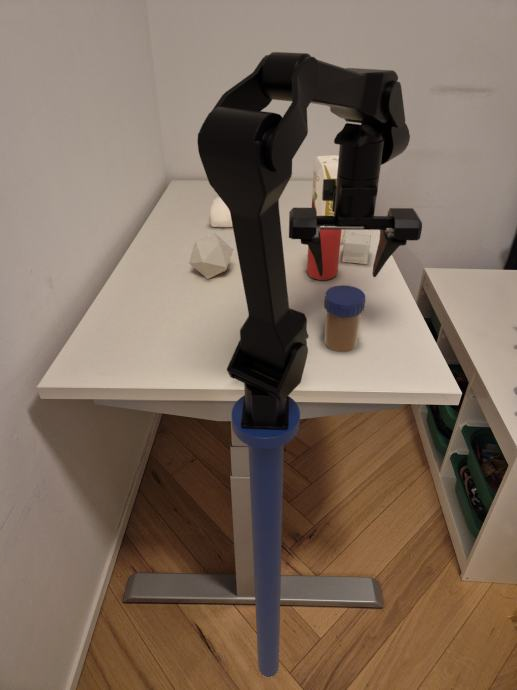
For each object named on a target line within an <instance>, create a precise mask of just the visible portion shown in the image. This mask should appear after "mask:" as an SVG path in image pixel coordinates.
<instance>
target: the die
mask: <svg viewBox="0 0 517 690" xmlns="http://www.w3.org/2000/svg"><path fill="white" fill-rule="evenodd" d="M233 251H234V248H233V247H231V246H230V245H229V244H228V243H227V242H226V241H225V240H223V239H222V238H221V237H220V236H219V235H218V234H217V233H215V232H214V233H211V234H209V235H207V236H206V235H205V236H203V237H201V238H197V239H196V240H195V241H194V244H193V247H192V251H191V254H190V258H189V261H188V264H190V266H192V267H193V268H194V269H195V270H196V271H197V272H199V273H200V274H201V275H202V276H203V277H205V278H206V279H207V280H209V279H211V278H213V277H217V276H218V275H220V274H223V273H224V272H225V273H226V272H227V268H228V266H229V263H230V261H231V257H232V255H233Z"/></svg>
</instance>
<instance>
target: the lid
mask: <svg viewBox="0 0 517 690" xmlns="http://www.w3.org/2000/svg"><path fill="white" fill-rule="evenodd" d="M323 301H324V302H323V305H324V306H323V307H324V309H325V311H328V312H329V313H330V314H332V315H335V316H338V317H354V316H357V315H359V314H362V313H363V312H364V311H365V306H366V294H365V292H364V290H363V291H362V290H361V289H360V288H358V287H355V286H352V285H346V284H345V285H344V284H343V285H334V286H332V287H330V288H328V289H327V290H326V292H325V295H324V300H323Z"/></svg>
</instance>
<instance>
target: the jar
mask: <svg viewBox="0 0 517 690" xmlns="http://www.w3.org/2000/svg"><path fill="white" fill-rule="evenodd" d="M361 314H362V313H361ZM361 314H359V315H357V316H354V317H338V316H335V315H332V314H330V313H329V312H328V311H327V310H325V325H324V336H323V337H324V338H323V339H324V340H323V343H324V346H326V347H327V348H328V349H329V350H330V351H334V352H339V353H341V352H342V353H347V352H350V351H352V350H354V349H355V348H356V347H357V344H358V337H359V330H360V320H361Z"/></svg>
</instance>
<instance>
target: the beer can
mask: <svg viewBox="0 0 517 690" xmlns="http://www.w3.org/2000/svg"><path fill="white" fill-rule="evenodd" d="M320 237H321V249H322V262H323V275H322V276H320V275H319V272H318V269H317V265H316V262H315V259H314V257H313V254H312V253H311V251H310V249H309V247H308V246H307V260H306V261H307V264H306V273H307V275H308V276H309V277H310V278H312V279H314V280H318V281H328V280H332V279H334V278H335V277H336V276H337V275H338V272H339V262H340V261H339V260H340V250H341V243H340V241H341V229H320Z"/></svg>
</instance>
